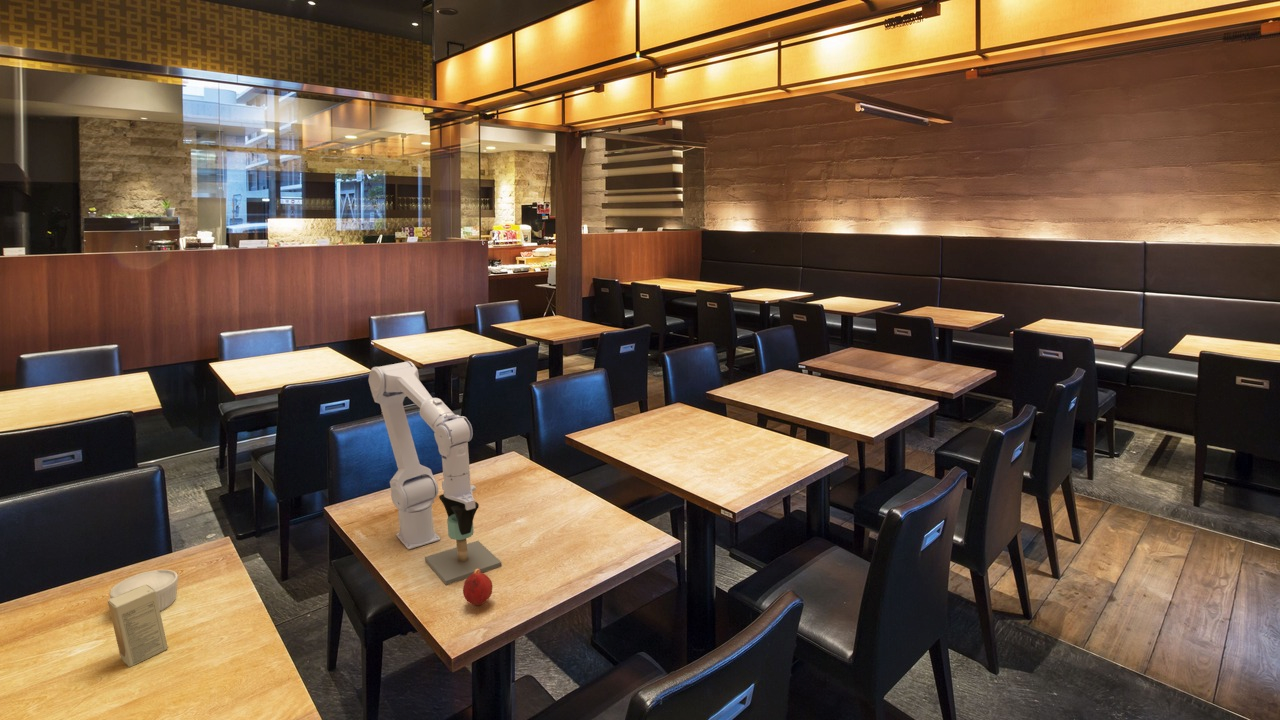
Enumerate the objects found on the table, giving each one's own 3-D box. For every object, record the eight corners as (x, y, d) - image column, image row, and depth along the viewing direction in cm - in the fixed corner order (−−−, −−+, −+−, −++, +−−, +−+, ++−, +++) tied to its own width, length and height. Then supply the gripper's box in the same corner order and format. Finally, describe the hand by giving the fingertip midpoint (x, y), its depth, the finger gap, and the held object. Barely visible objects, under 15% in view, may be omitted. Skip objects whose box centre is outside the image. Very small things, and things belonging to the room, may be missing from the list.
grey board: (425, 561, 152) (424, 557, 152) (478, 544, 160) (478, 540, 160) (446, 585, 142) (445, 581, 142) (501, 566, 150) (501, 562, 150)
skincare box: (159, 641, 124) (148, 582, 122) (169, 649, 122) (158, 589, 119) (118, 659, 119) (105, 598, 117) (127, 668, 117) (115, 606, 114)
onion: (486, 615, 131) (483, 578, 130) (459, 612, 132) (456, 575, 131) (497, 598, 137) (495, 563, 135) (472, 596, 138) (469, 561, 136)
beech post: (456, 559, 151) (454, 539, 150) (465, 556, 152) (464, 536, 151) (460, 563, 149) (458, 542, 148) (469, 560, 151) (467, 539, 150)
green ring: (445, 533, 150) (443, 516, 149) (467, 526, 153) (466, 510, 152) (454, 542, 146) (452, 525, 145) (477, 535, 149) (476, 518, 148)
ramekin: (194, 596, 139) (190, 573, 138) (140, 626, 129) (135, 602, 128) (156, 587, 143) (152, 565, 142) (101, 616, 133) (96, 592, 131)
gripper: (486, 477, 143) (490, 535, 146) (460, 458, 154) (464, 512, 157) (455, 485, 139) (460, 544, 142) (431, 465, 150) (435, 520, 153)
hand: (460, 528), depth 149 cm, fingers closed on green ring, 5 cm apart
